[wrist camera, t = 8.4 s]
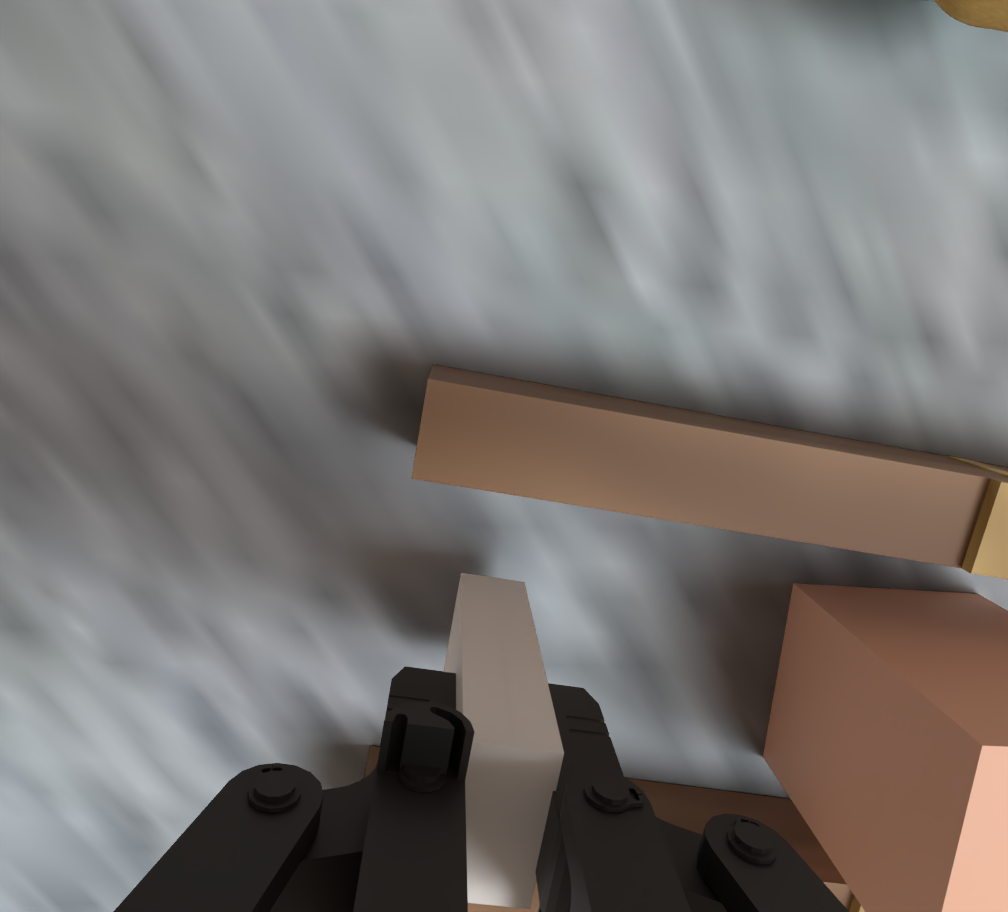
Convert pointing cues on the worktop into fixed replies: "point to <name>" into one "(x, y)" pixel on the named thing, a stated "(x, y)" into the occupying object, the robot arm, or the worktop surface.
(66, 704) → the worktop surface
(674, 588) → the worktop surface
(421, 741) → the robot arm
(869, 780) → the block
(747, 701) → the worktop surface
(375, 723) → the worktop surface
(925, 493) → the slotted beam
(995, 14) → the cupcake
